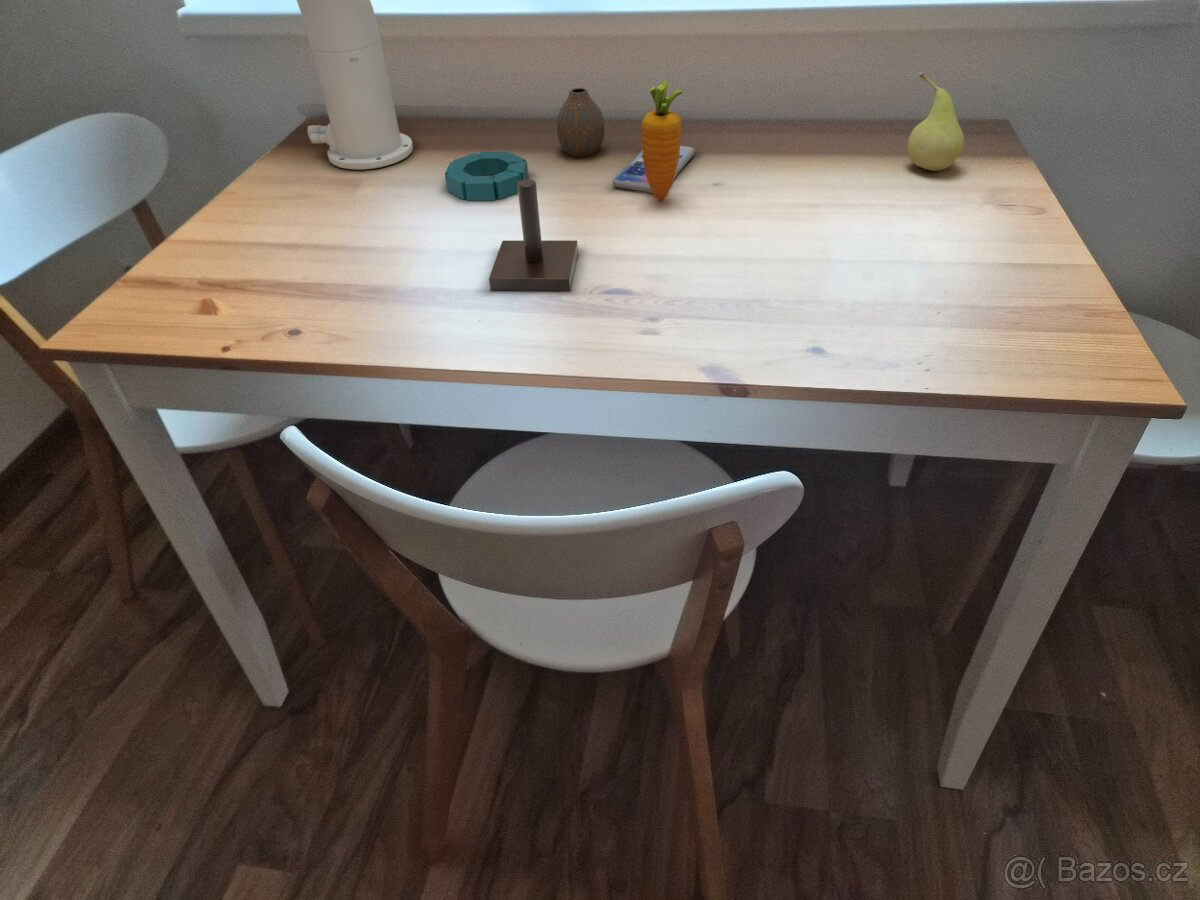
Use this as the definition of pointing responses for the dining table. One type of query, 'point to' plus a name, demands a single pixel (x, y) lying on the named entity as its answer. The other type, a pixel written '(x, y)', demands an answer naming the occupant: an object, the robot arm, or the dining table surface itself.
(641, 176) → the smartphone
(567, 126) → the vase
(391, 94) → the robot arm
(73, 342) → the dining table surface
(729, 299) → the dining table surface
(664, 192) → the carrot
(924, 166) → the fruit
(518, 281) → the stand
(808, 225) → the dining table surface
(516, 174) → the ring
